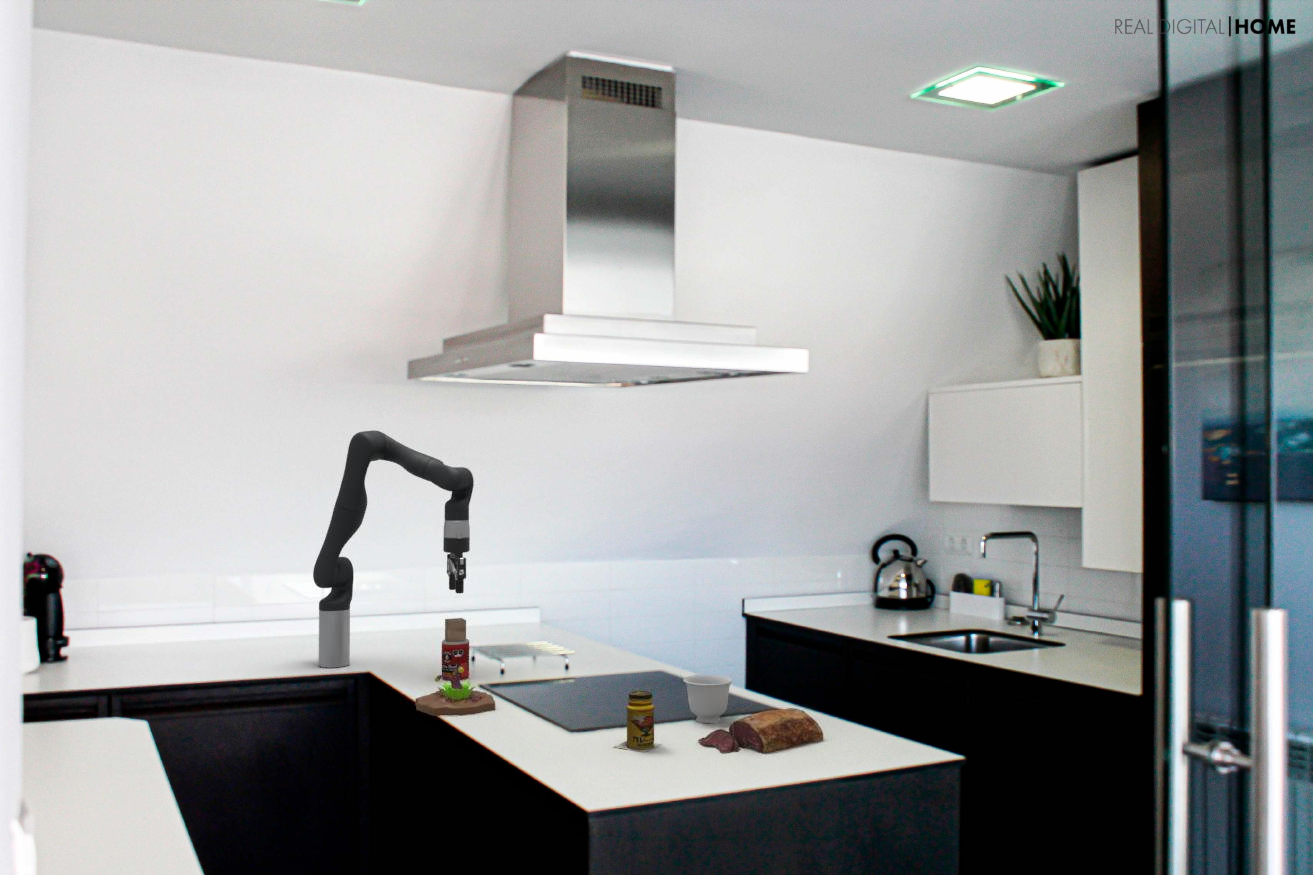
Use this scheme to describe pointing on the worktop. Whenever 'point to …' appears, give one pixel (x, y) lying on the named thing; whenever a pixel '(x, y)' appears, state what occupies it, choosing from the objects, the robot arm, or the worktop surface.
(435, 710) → the plant
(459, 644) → the canned food
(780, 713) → the cured meat
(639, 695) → the condiment
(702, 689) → the teacup
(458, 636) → the walnut block
